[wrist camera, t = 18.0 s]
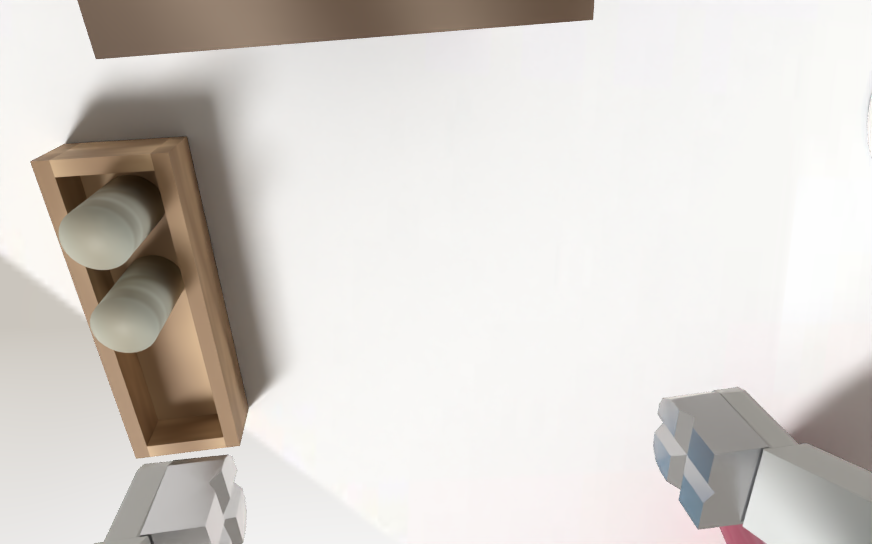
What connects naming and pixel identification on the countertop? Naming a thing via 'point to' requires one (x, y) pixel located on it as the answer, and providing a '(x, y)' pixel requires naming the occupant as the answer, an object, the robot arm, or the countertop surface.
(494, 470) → the countertop surface
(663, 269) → the countertop surface
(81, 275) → the teak tray
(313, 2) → the brown wooden side table
